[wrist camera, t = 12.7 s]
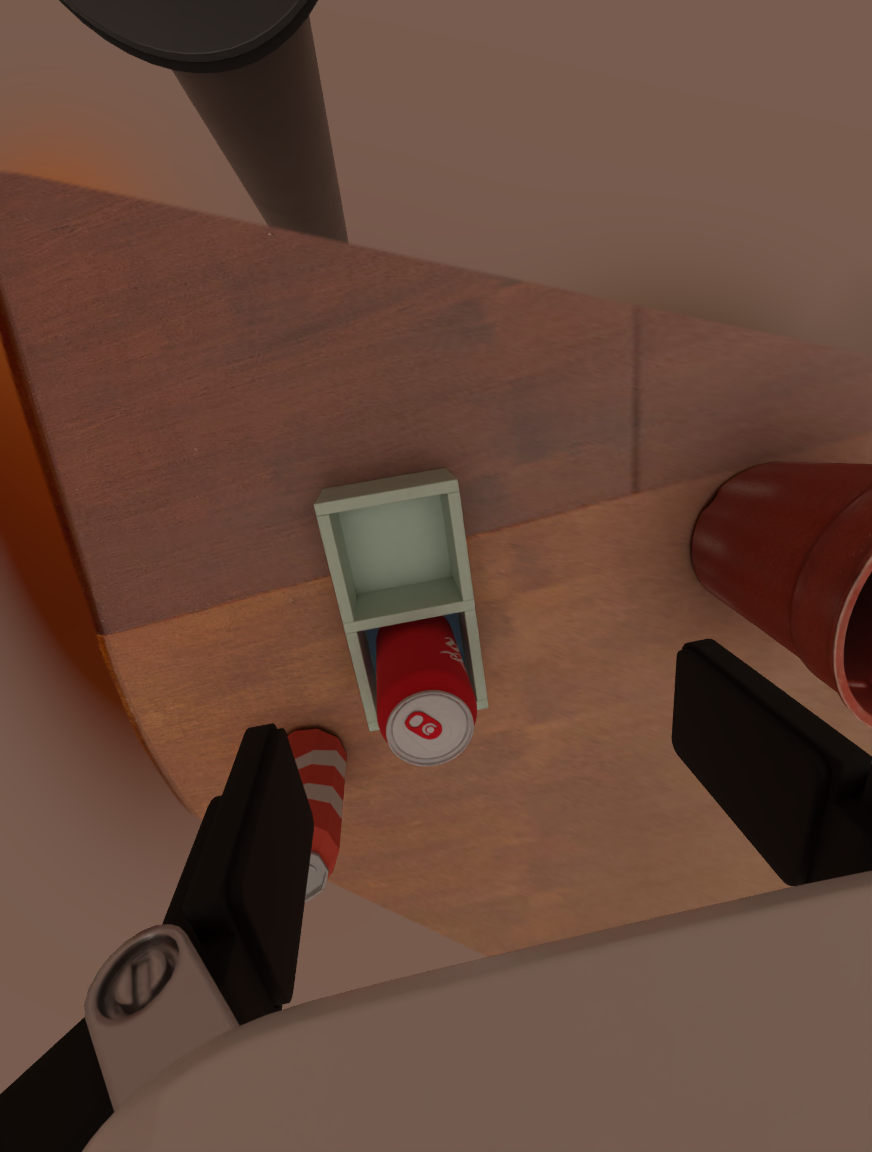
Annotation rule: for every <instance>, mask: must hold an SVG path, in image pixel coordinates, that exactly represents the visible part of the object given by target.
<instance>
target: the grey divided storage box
mask: <svg viewBox="0 0 872 1152" xmlns="http://www.w3.org/2000/svg"><path fill="white" fill-rule="evenodd" d="M314 509H315V513H316V516H317V521H318V525H319V529H320V533H321V537H322V541H323V545H324V549H325V553H326V557H327V561H328V566H329V570H330V574H331V578H332V582H333V586H334V590H335V594H336V598H337V602H338V606H339V610H340V614H341V618H342V622H343V626H344V630H345V633H346V638H347V642H348V646H349V650H350V654H351V658H352V662H353V666H354V670H355V674H356V678H357V682H358V686H359V690H360V694H361V698H362V703H363V707H364V711H365V715H366V719H367V722H368V727H369V731H370V732H371V731H376V730H380V729H379V726H378V722H377V675H376V638H377V634H378V631H379V628H380V627H384V626H389V625H394V624H400V623H405V622H410V621H416V620H421V619H426V618H431V617H437V616H442V615H443V616H444V617H445V618H446V619H447V621H448V622H449V624H450V626H451V628H452V631H453V634H454V637H455V640H456V643H457V646H458V648H459V651H460V654H461V657H462V660H463V663H464V666H465V669H466V672H467V675H468V678H469V681H470V683H471V686H472V689H473V692H474V695H475V698H476V702H477V710H480V709H485V708H488V700H487V692H486V684H485V677H484V670H483V662H482V655H481V647H480V640H479V633H478V625H477V618H476V610H475V603H474V595H473V588H472V581H471V573H470V566H469V558H468V551H467V544H466V536H465V529H464V521H463V514H462V507H461V499H460V492H459V485H458V479H457V478H456V477H455V476H453V475H452V474H451V473H450V472H449V471H448V470H447V469H446V468H441V469H435V470H429V471H423V472H418V473H412V474H406V475H400V476H394V477H389V478H383V479H377V480H371V481H365V482H360V483H354V484H348V485H342V486H337V487H331V488H325V489H323V490H322V491H321V493H320V495H319V496H318V498H317V500H316V501H315V503H314Z"/></svg>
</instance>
